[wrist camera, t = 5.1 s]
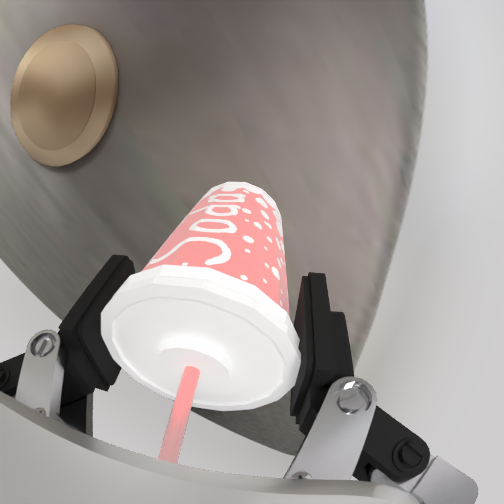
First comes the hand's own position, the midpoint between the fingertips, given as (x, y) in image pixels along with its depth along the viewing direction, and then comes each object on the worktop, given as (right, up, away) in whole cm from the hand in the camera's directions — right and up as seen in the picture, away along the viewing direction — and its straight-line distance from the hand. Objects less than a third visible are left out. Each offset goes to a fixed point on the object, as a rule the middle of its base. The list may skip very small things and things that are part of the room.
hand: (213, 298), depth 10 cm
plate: (-13, +13, +5) cm, 19 cm away
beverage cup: (+1, +3, +5) cm, 6 cm away
